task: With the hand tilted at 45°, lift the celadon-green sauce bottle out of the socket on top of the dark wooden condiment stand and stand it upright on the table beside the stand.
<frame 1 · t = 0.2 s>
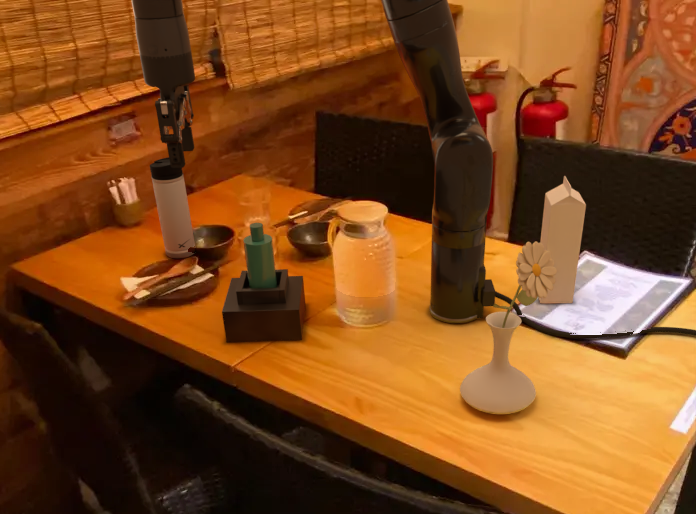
hand: (183, 158, 125), 29 cm above the table, tool pointing down, fingers open, 8 cm apart
flower in vase: (501, 399, 119), on the table
milk: (553, 297, 146), on the table
sauce bottle: (264, 292, 136), point 6 cm above the table, touching condiment stand
condiment stand: (267, 323, 140), on the table
travel mug: (182, 253, 166), on the table
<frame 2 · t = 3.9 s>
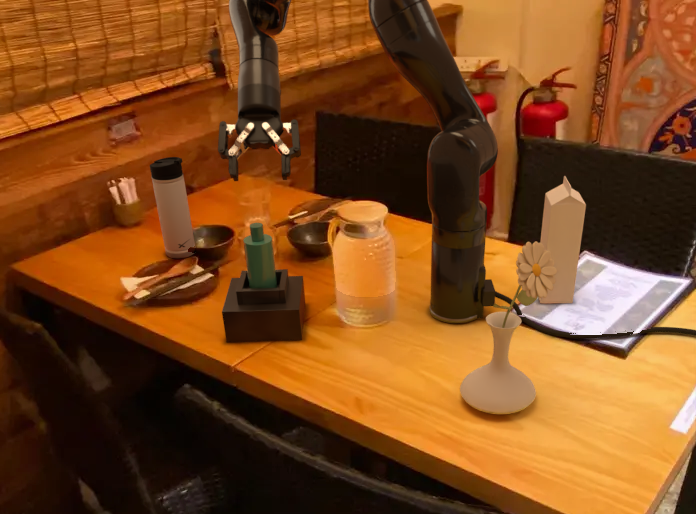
hand: (260, 178, 136), 22 cm above the table, tool tilted 45°, fingers open, 8 cm apart
nothing on the table moved.
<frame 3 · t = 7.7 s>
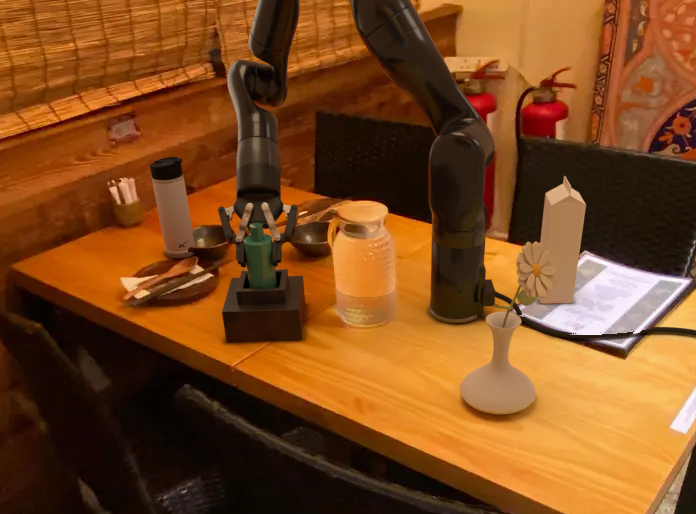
hand: (259, 265, 131), 12 cm above the table, tool tilted 45°, fingers closed on sauce bottle, 5 cm apart
sauce bottle: (264, 292, 136), point 6 cm above the table, touching condiment stand, gripper
everything else where it was.
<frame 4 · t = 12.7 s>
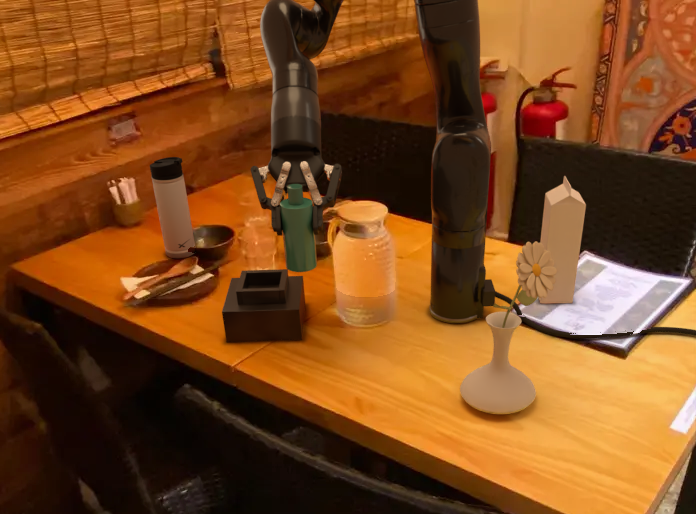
hand: (297, 232, 115), 23 cm above the table, tool tilted 45°, fingers closed on sauce bottle, 5 cm apart
sauce bottle: (301, 265, 120), point 17 cm above the table, touching gripper
everything else where it was.
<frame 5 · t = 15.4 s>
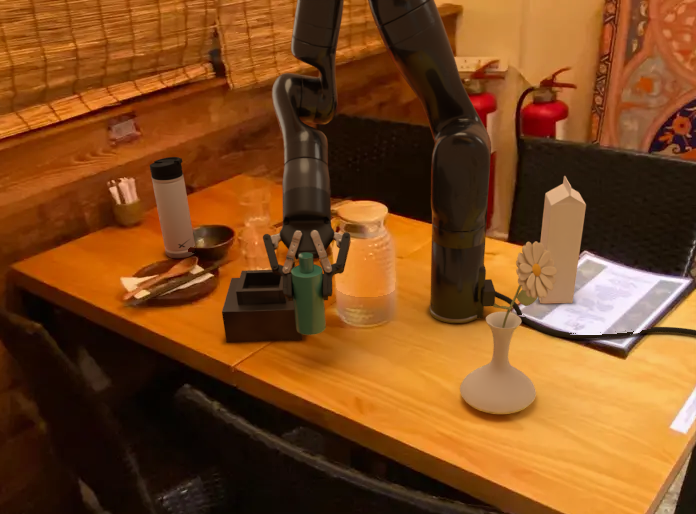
hand: (308, 298, 120), 13 cm above the table, tool tilted 45°, fingers closed on sauce bottle, 5 cm apart
sauce bottle: (310, 327, 125), point 7 cm above the table, touching gripper
everything else where it was.
when the fingers open (6 cm above the table, at t = 17.7 s): sauce bottle stays where it is, on the table.
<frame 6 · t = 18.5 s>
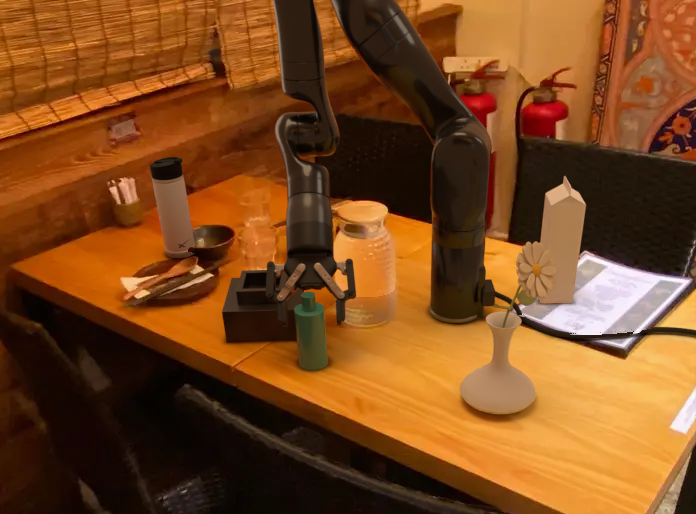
hand: (312, 325, 123), 8 cm above the table, tool tilted 45°, fingers open, 8 cm apart
sauce bottle: (313, 362, 128), on the table
everything else where it was.
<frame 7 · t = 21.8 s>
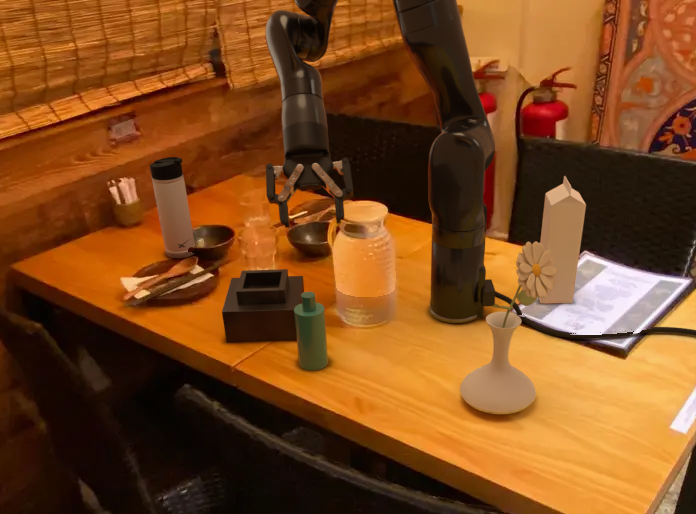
hand: (312, 224, 128), 19 cm above the table, tool tilted 40°, fingers open, 8 cm apart
nothing on the table moved.
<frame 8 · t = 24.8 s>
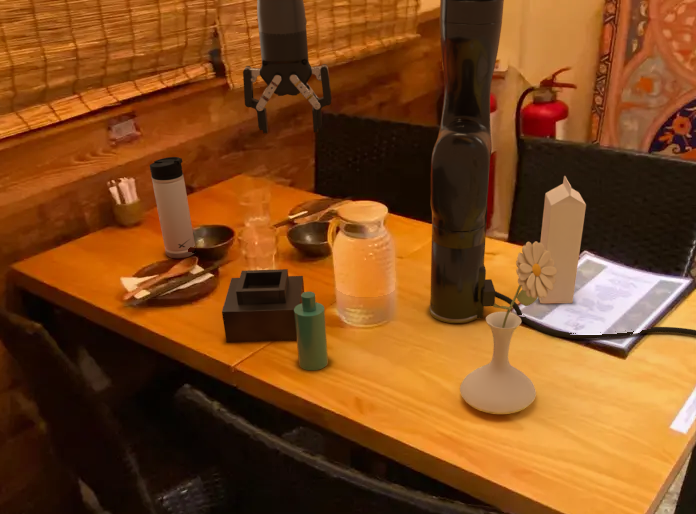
hand: (291, 131, 132), 30 cm above the table, tool pointing down, fingers open, 8 cm apart
nothing on the table moved.
at the end: sauce bottle inside the target area (0.2 cm from its centre), on the table; sauce bottle tilted 0°; the gripper is holding nothing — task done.
